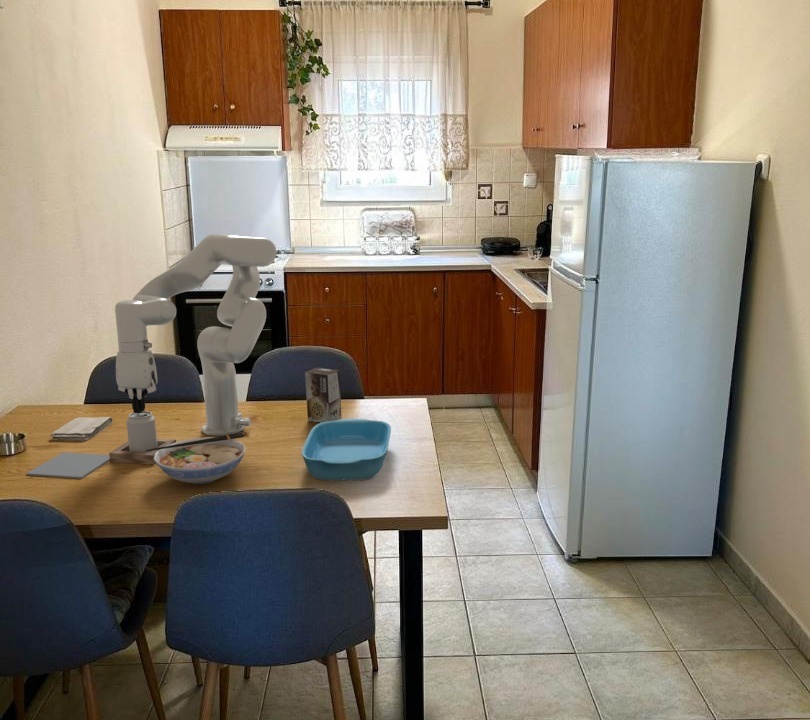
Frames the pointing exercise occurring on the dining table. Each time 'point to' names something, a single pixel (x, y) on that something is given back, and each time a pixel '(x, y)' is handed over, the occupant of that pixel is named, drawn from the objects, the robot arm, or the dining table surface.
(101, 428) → the washcloth
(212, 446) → the ramen bowl
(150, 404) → the dining table surface
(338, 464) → the casserole dish
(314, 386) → the coffee box
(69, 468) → the grey mat
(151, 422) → the can
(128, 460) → the shallow wooden tray
